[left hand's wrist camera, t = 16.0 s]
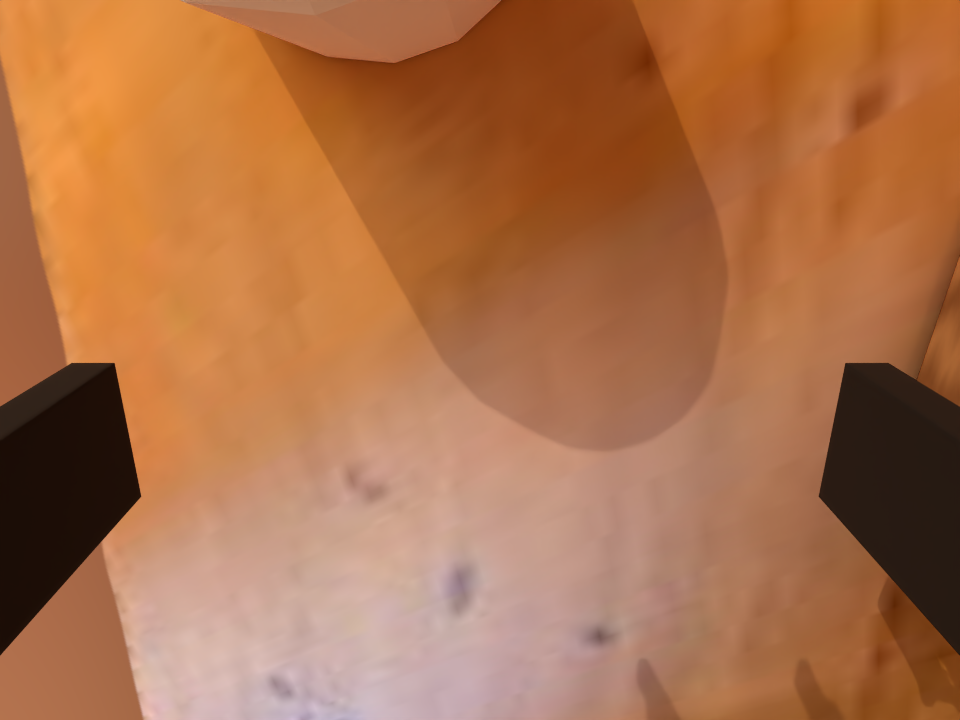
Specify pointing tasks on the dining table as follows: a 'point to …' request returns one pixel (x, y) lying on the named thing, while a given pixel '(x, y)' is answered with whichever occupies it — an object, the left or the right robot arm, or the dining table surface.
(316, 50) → the container
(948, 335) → the box
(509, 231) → the dining table surface
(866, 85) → the dining table surface
